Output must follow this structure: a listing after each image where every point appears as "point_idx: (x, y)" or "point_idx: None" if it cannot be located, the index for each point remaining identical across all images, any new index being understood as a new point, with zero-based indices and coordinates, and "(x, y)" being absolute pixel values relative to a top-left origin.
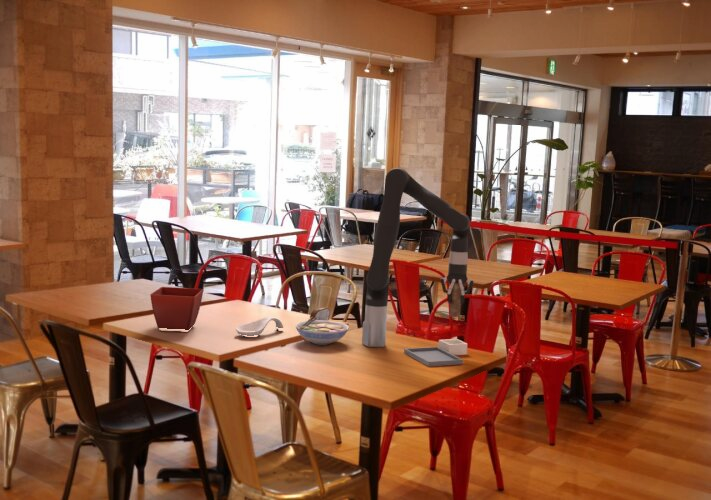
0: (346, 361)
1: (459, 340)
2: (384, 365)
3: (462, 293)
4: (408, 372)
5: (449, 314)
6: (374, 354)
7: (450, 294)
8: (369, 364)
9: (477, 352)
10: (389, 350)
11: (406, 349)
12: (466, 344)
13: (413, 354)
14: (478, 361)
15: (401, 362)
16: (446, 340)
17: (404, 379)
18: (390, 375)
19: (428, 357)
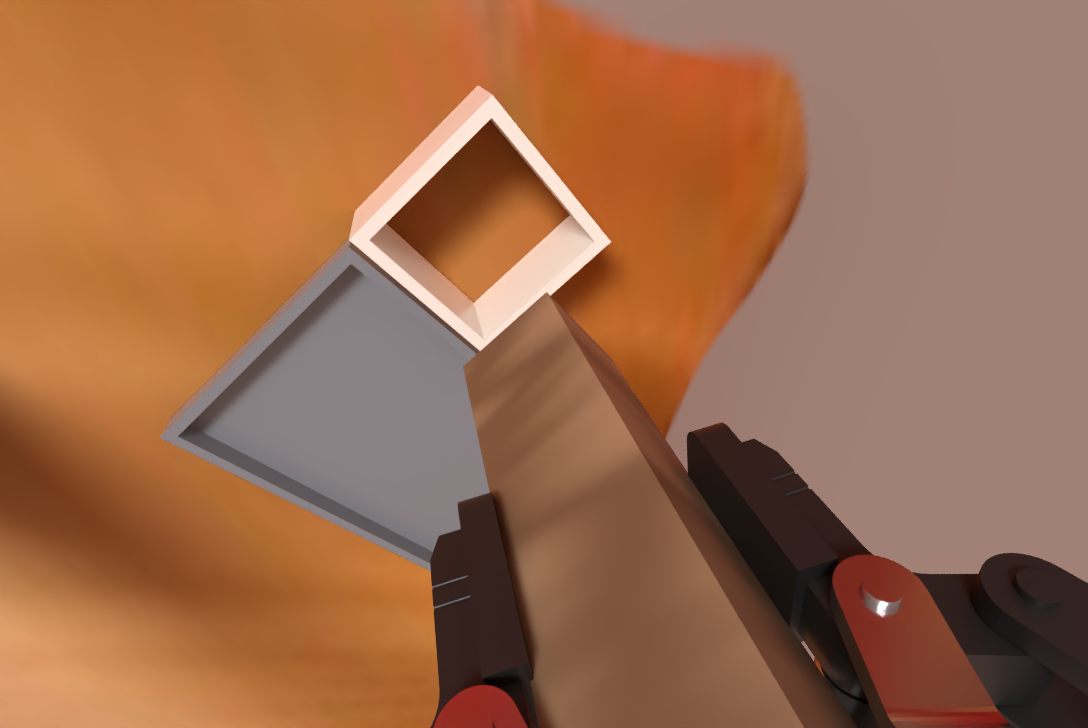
0: (32, 701)
1: (529, 154)
2: (246, 647)
3: (844, 695)
4: (397, 655)
5: (467, 376)
6: (32, 544)
7: (536, 713)
8: (172, 673)
9: (655, 103)
10: (26, 414)
11: (190, 448)
12: (602, 245)
13: (295, 499)
14: (667, 343)
15: (288, 575)
16: (411, 195)
17: (421, 709)
18: (352, 709)
19: (387, 458)
